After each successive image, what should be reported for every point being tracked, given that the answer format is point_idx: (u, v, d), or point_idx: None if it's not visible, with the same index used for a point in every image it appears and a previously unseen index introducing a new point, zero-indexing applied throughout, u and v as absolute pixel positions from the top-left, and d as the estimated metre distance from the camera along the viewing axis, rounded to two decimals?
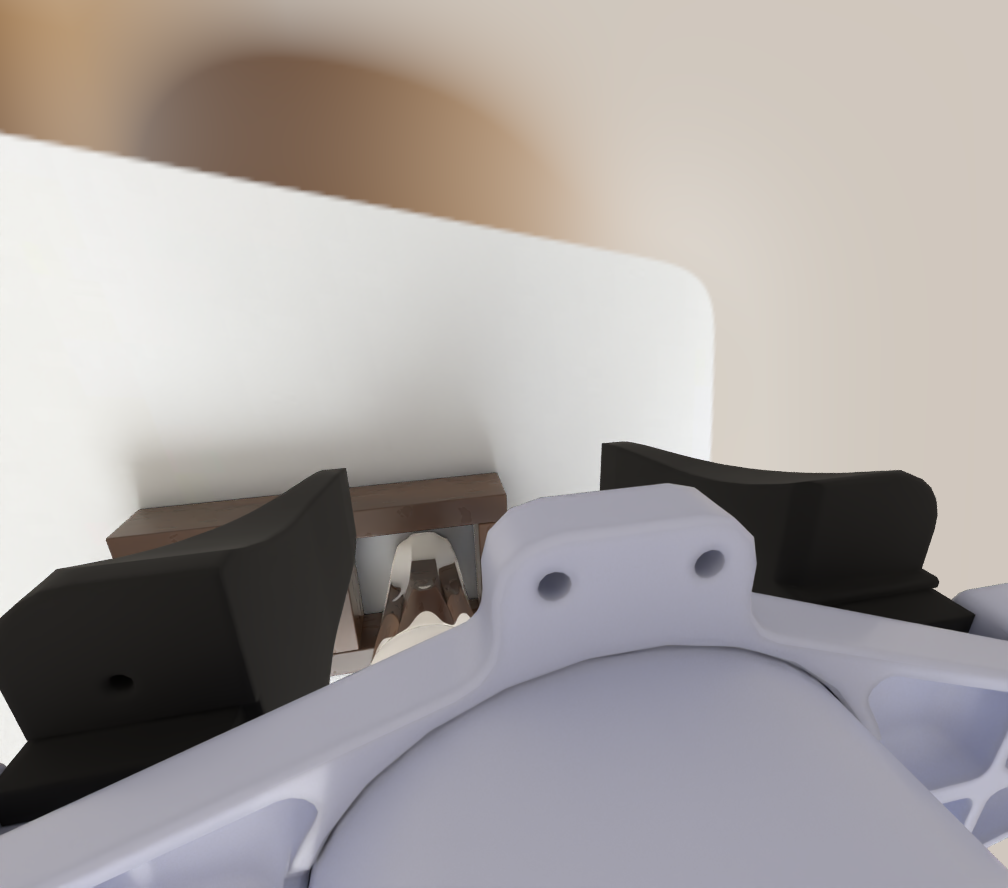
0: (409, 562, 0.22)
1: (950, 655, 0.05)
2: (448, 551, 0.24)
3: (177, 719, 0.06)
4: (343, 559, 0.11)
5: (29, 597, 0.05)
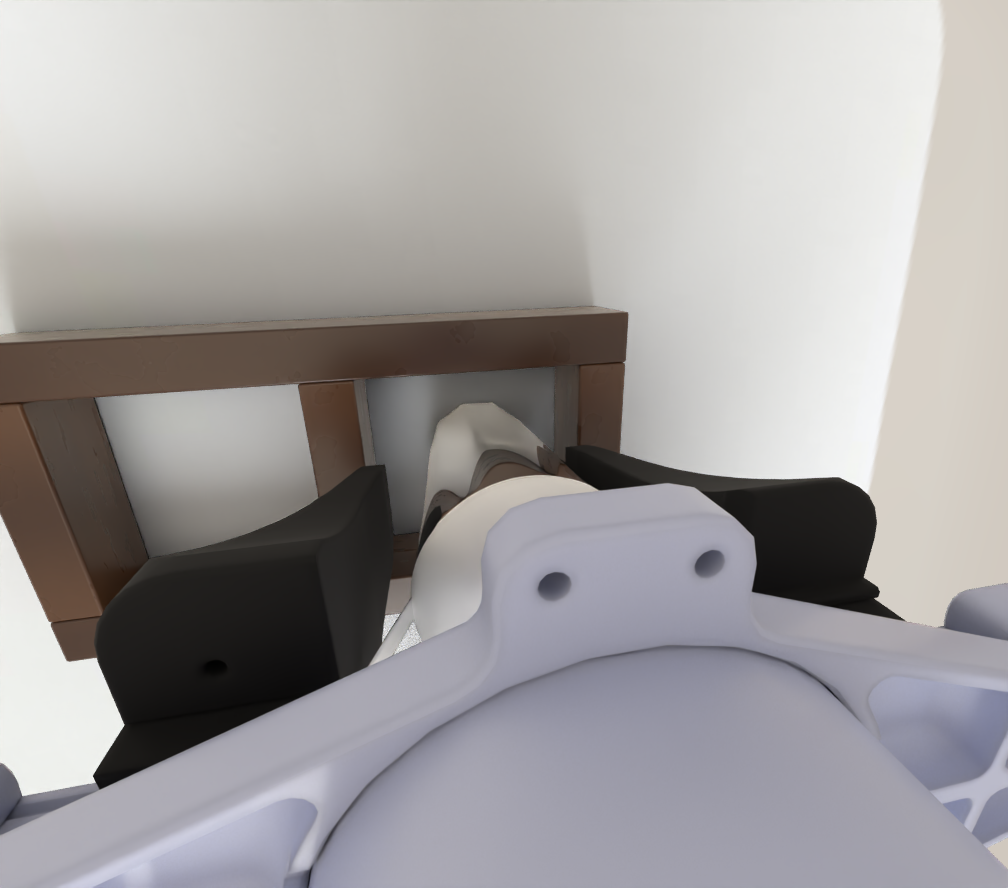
0: (466, 424, 0.13)
1: (951, 655, 0.05)
2: (521, 424, 0.15)
3: (263, 704, 0.06)
4: (386, 554, 0.11)
5: (137, 583, 0.05)
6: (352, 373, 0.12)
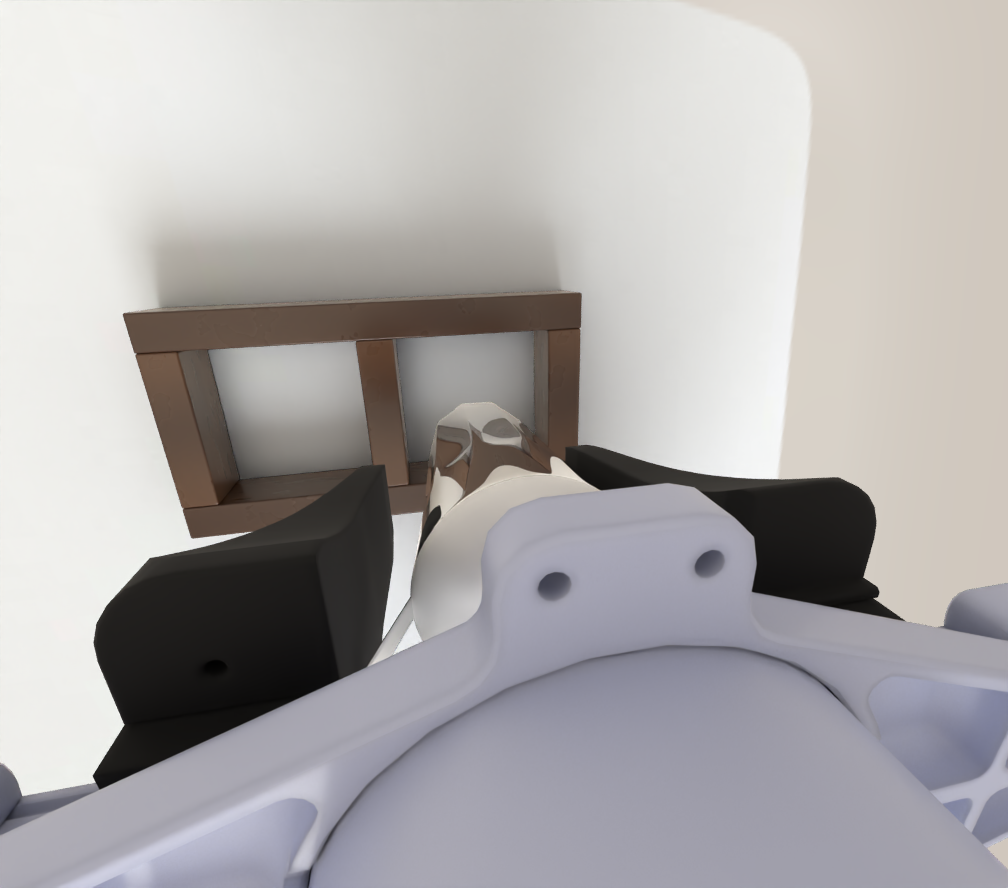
0: (466, 424, 0.13)
1: (951, 656, 0.05)
2: (521, 423, 0.15)
3: (263, 705, 0.06)
4: (386, 554, 0.11)
5: (137, 583, 0.05)
6: (392, 334, 0.18)
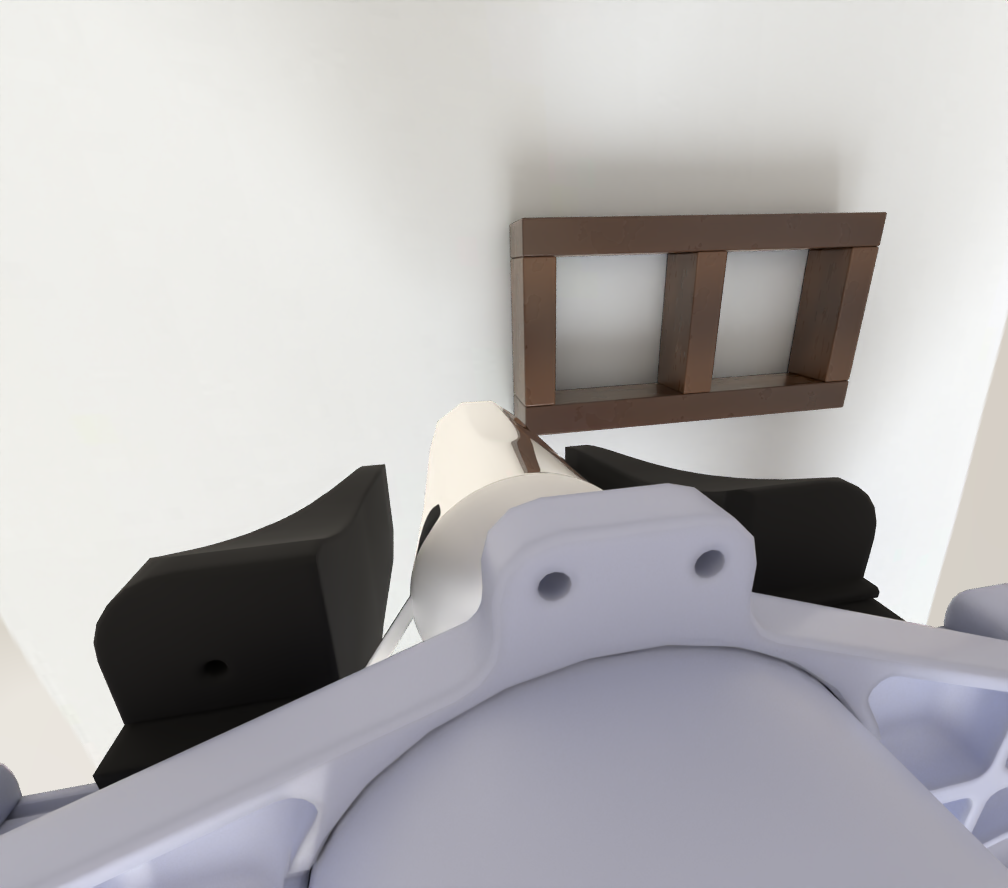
0: (466, 423, 0.13)
1: (951, 655, 0.05)
2: (521, 422, 0.15)
3: (264, 705, 0.06)
4: (386, 554, 0.11)
5: (137, 583, 0.05)
6: (729, 245, 0.20)
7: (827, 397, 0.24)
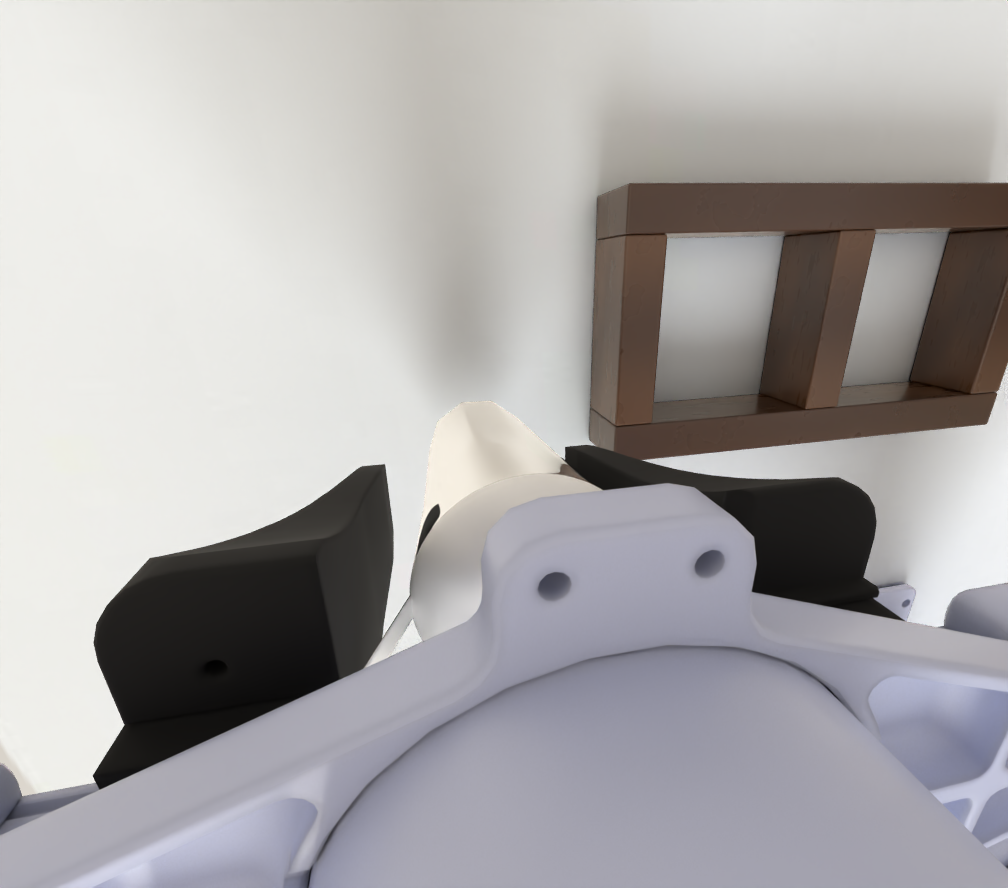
0: (466, 423, 0.13)
1: (951, 655, 0.05)
2: (521, 422, 0.15)
3: (264, 704, 0.06)
4: (386, 554, 0.11)
5: (137, 583, 0.05)
6: (878, 223, 0.16)
7: (971, 412, 0.19)
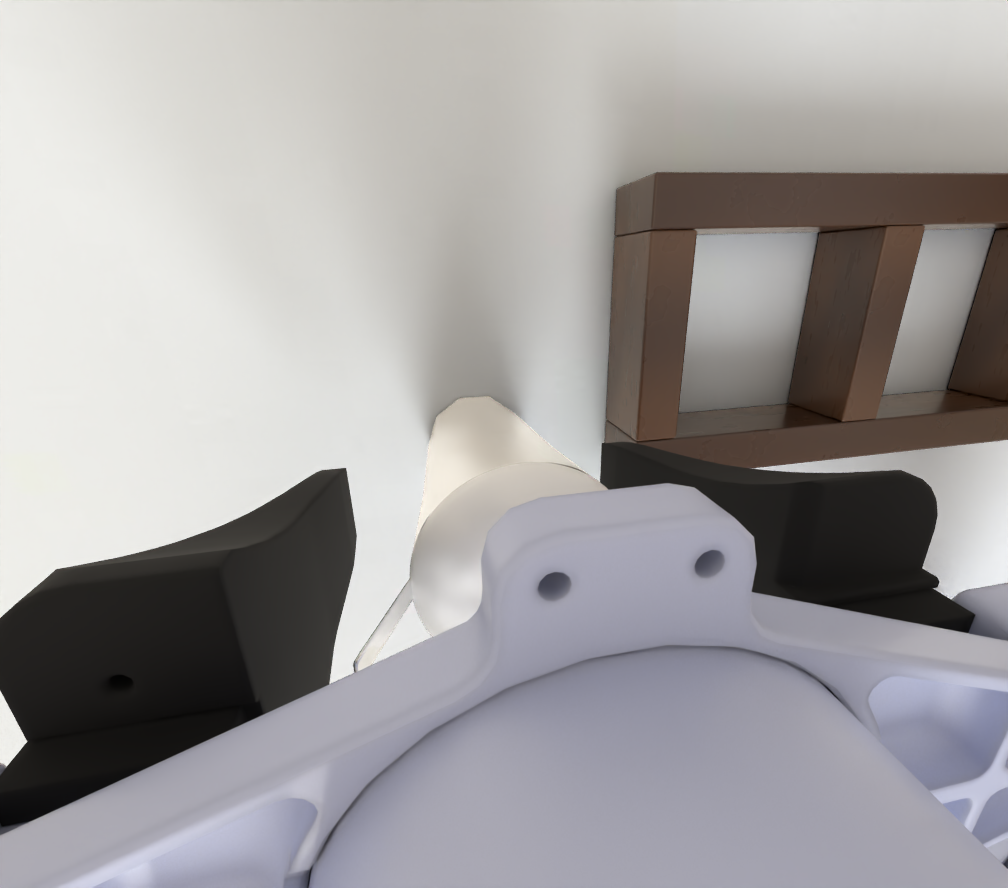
0: (464, 417, 0.13)
1: (951, 656, 0.05)
2: (517, 417, 0.15)
3: (177, 718, 0.06)
4: (343, 559, 0.11)
5: (29, 596, 0.05)
6: (928, 217, 0.14)
7: None
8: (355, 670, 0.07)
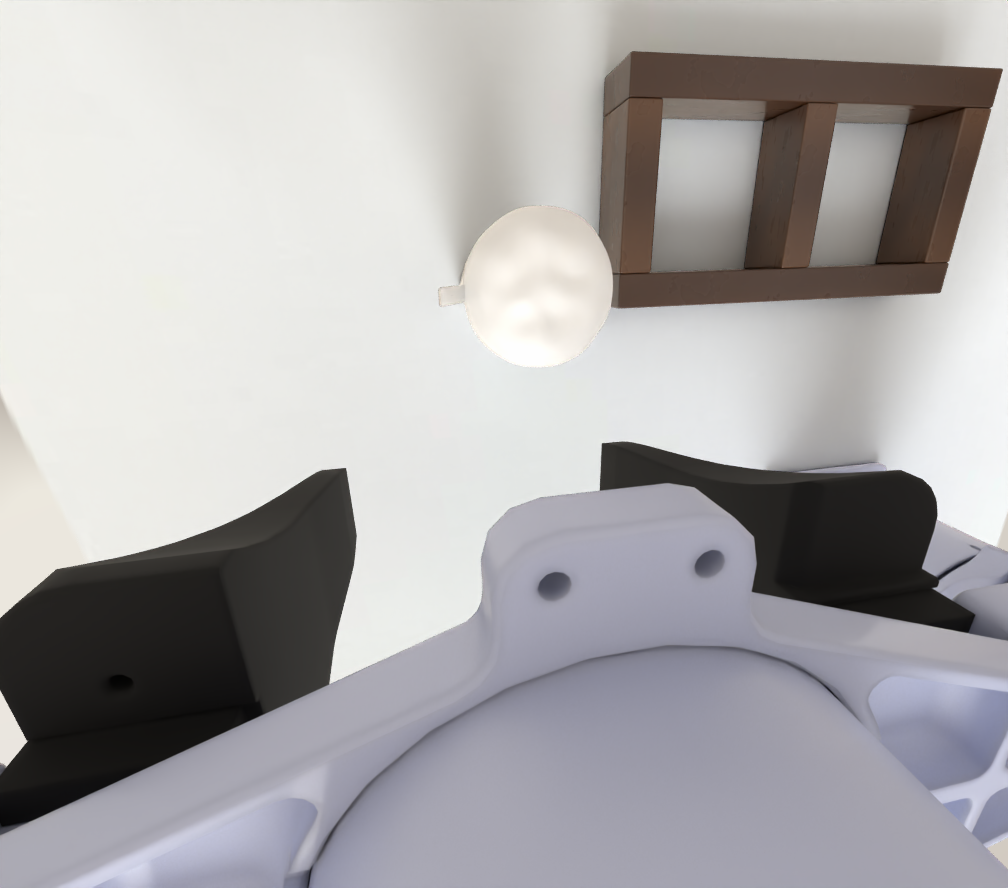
0: None
1: (951, 656, 0.05)
2: None
3: (177, 719, 0.06)
4: (343, 559, 0.11)
5: (29, 597, 0.05)
6: (840, 97, 0.19)
7: (926, 280, 0.22)
8: (439, 294, 0.12)
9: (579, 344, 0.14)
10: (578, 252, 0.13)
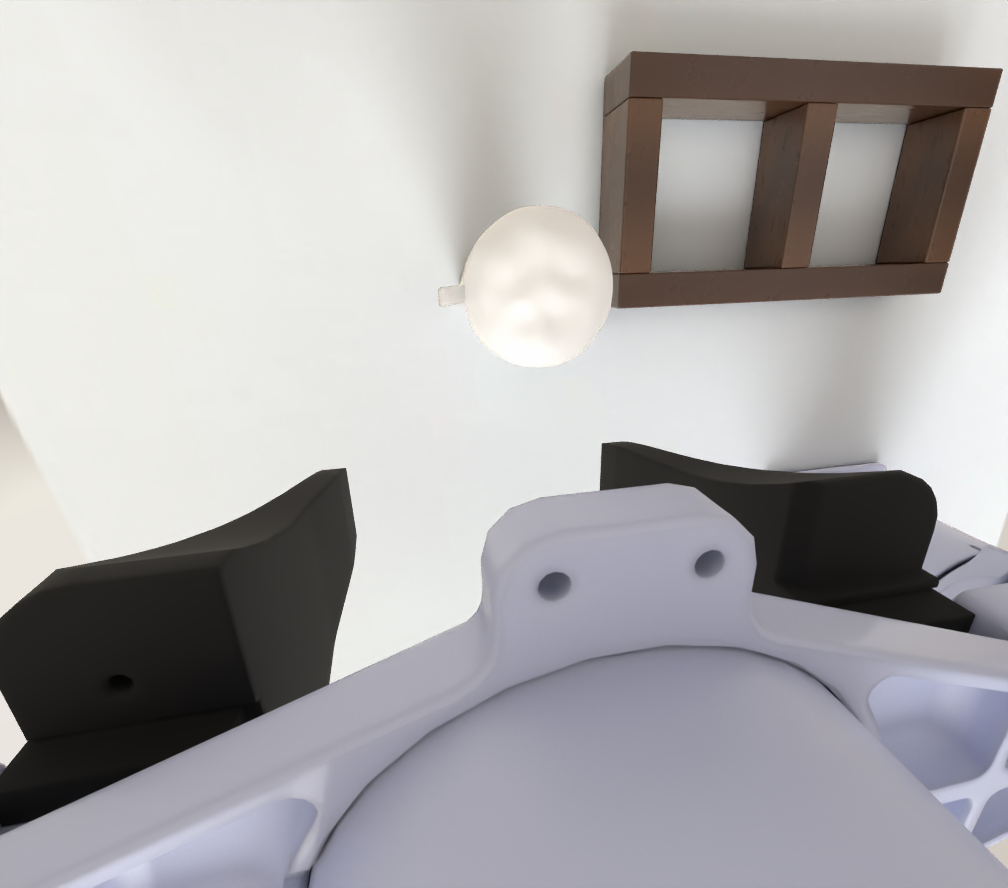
0: None
1: (951, 656, 0.05)
2: None
3: (177, 719, 0.06)
4: (343, 559, 0.11)
5: (29, 597, 0.05)
6: (840, 97, 0.19)
7: (926, 280, 0.22)
8: (439, 294, 0.12)
9: (579, 344, 0.14)
10: (578, 252, 0.13)
